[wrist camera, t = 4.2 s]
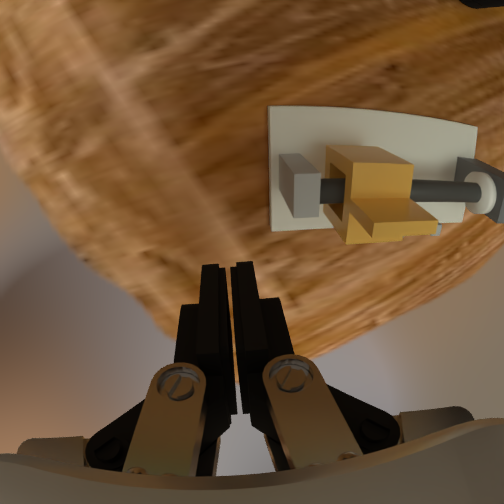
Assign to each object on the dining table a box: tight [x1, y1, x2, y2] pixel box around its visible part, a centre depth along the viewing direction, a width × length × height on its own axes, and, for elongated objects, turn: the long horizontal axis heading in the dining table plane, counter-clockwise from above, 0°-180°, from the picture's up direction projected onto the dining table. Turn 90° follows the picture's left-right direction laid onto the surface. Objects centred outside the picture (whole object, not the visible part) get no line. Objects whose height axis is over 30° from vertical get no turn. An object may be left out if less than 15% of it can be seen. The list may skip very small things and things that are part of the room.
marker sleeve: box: [323, 145, 439, 244], centre depth 18 cm, size 4×5×8 cm
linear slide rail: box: [268, 106, 504, 237], centre depth 21 cm, size 20×10×8 cm, turn 92°
